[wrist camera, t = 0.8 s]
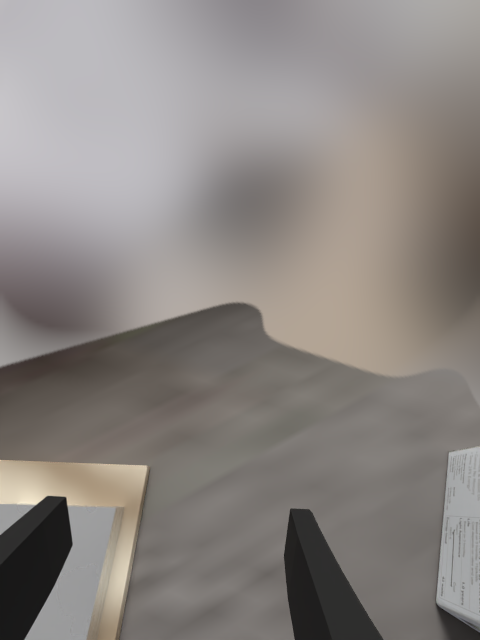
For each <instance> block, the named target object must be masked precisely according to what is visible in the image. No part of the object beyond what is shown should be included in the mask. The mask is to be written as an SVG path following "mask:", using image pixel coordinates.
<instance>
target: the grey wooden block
mask: <svg viewBox="0 0 480 640" xmlns="http://www.w3.org/2000/svg"><path fill="white" fill-rule="evenodd" d="M35 505H37V504H28V503H11V504H0V535H1V534H2V533H3V532H4V531H6V530H7V529H8V528H9V527H10V526H11V525H13V524H14V523H15V522H16V521H17V520H19V519H20V518H21V517H22V516H23V515H25V514H26V513H27V512H28V511H29V510H31V509H32V508H33V507H34V506H35ZM124 509H125V507H123V506H91V505H68V513H69V520H70V527H71V535H72V542H73V546H72V548H71V550H70V552H69V555H68V557H67V559H66V562H65V564H64V566H63V568H62V570H61V573H60V575H59V577H58V579H57V581H56V583H55V586H54V588H53V589H52V591H51V593H50V595H49V597H48V599H47V600H46V602H45V604H44V606H43V607H42V609H41V611H40V613H39V615H38V616H37V618H36V620H35V622H34V624H33V625H32V627H31V629H30V631H29V632H28V634H27V636H26V638H25V640H97V637H98V632H99V627H100V623H101V618H102V613H103V608H104V604H105V599H106V594H107V589H108V585H109V580H110V575H111V570H112V566H113V561H114V556H115V551H116V547H117V542H118V537H119V532H120V528H121V523H122V518H123V513H124Z"/></svg>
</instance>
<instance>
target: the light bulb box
mask: <svg viewBox="0 0 480 640" xmlns="http://www.w3.org/2000/svg"><path fill="white" fill-rule="evenodd" d="M436 603H437V605H438V606H439V607H441V608H442V609H444V610H445V611H447V612H448V613H450V614H451V615H453V616H455V617H456V618H458V619H459V620H461V621H462V622H464V623H466V624H467V625H469V626H470V627H472V628H473V629H475V630H477V631H478V632H480V446H476V447H471V448H466V449H460V450H455V451H449V458H448V469H447V480H446V492H445V504H444V515H443V526H442V539H441V549H440V561H439V573H438V585H437V595H436Z"/></svg>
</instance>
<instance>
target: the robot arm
mask: <svg viewBox="0 0 480 640" xmlns="http://www.w3.org/2000/svg"><path fill="white" fill-rule="evenodd" d="M72 546H73V542H72V535H71V527H70V520H69V513H68V505H67V498H66V497H62V496H46V497H45V498H44V499H43V500H42V501H40V502H39V503H38V504H37V505H35V506H34V507H33V508H32V509H31V510H29V511H28V512H27V513H26V514H25V515H23V516H22V517H21V518H20V519H19V520H17V521H16V522H15V523H14V524H13V525H11V526H10V527H9V528H8V529H7V530H6V531H4V532H3V533H2V534H1V535H0V640H25V638H26V636H27V634H28V632H29V631H30V629H31V627H32V625H33V624H34V622H35V620H36V618H37V616H38V615H39V613H40V611H41V609H42V607H43V606H44V604H45V602H46V600H47V599H48V597H49V595H50V593H51V591H52V589H53V588H54V586H55V583H56V581H57V579H58V577H59V575H60V573H61V570H62V568H63V566H64V564H65V562H66V559H67V557H68V555H69V552H70V550H71V548H72ZM284 561H285V573H286V583H287V594H288V602H289V608H290V614H291V620H292V625H293V631H294V637H295V640H383V638H382V637H381V635H380V634H379V632H378V630H377V629H376V627H375V626H374V624H373V622H372V621H371V619H370V618H369V616H368V614H367V613H366V611H365V609H364V608H363V606H362V604H361V603H360V601H359V599H358V598H357V596H356V594H355V592H354V591H353V589H352V587H351V585H350V584H349V582H348V580H347V579H346V577H345V575H344V573H343V572H342V570H341V568H340V566H339V564H338V563H337V561H336V559H335V557H334V555H333V553H332V551H331V550H330V548H329V546H328V544H327V542H326V540H325V538H324V536H323V534H322V532H321V530H320V528H319V526H318V524H317V522H316V520H315V518H314V516H313V513H312V512H311V511H310V510H309V509H290V515H289V522H288V530H287V537H286V544H285V552H284Z"/></svg>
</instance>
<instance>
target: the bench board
mask: <svg viewBox="0 0 480 640" xmlns="http://www.w3.org/2000/svg"><path fill="white" fill-rule="evenodd" d="M149 471H150V467H149V466H140V465H114V464H88V463H63V462H37V461H11V460H0V504H11V503H28V504H38V503H39V502H40V501H42V500H43V499H44V498H45V497H46V496H62V497H66V498H67V505H91V506H123V507H125V509H124V513H123V518H122V523H121V528H120V532H119V537H118V542H117V547H116V551H115V556H114V561H113V566H112V570H111V575H110V580H109V585H108V589H107V594H106V599H105V604H104V608H103V613H102V618H101V623H100V627H99V632H98V637H97V640H119V636H120V631H121V625H122V620H123V614H124V609H125V603H126V598H127V592H128V587H129V581H130V576H131V570H132V565H133V559H134V554H135V548H136V543H137V537H138V532H139V526H140V521H141V515H142V509H143V504H144V498H145V493H146V487H147V482H148V476H149Z"/></svg>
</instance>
